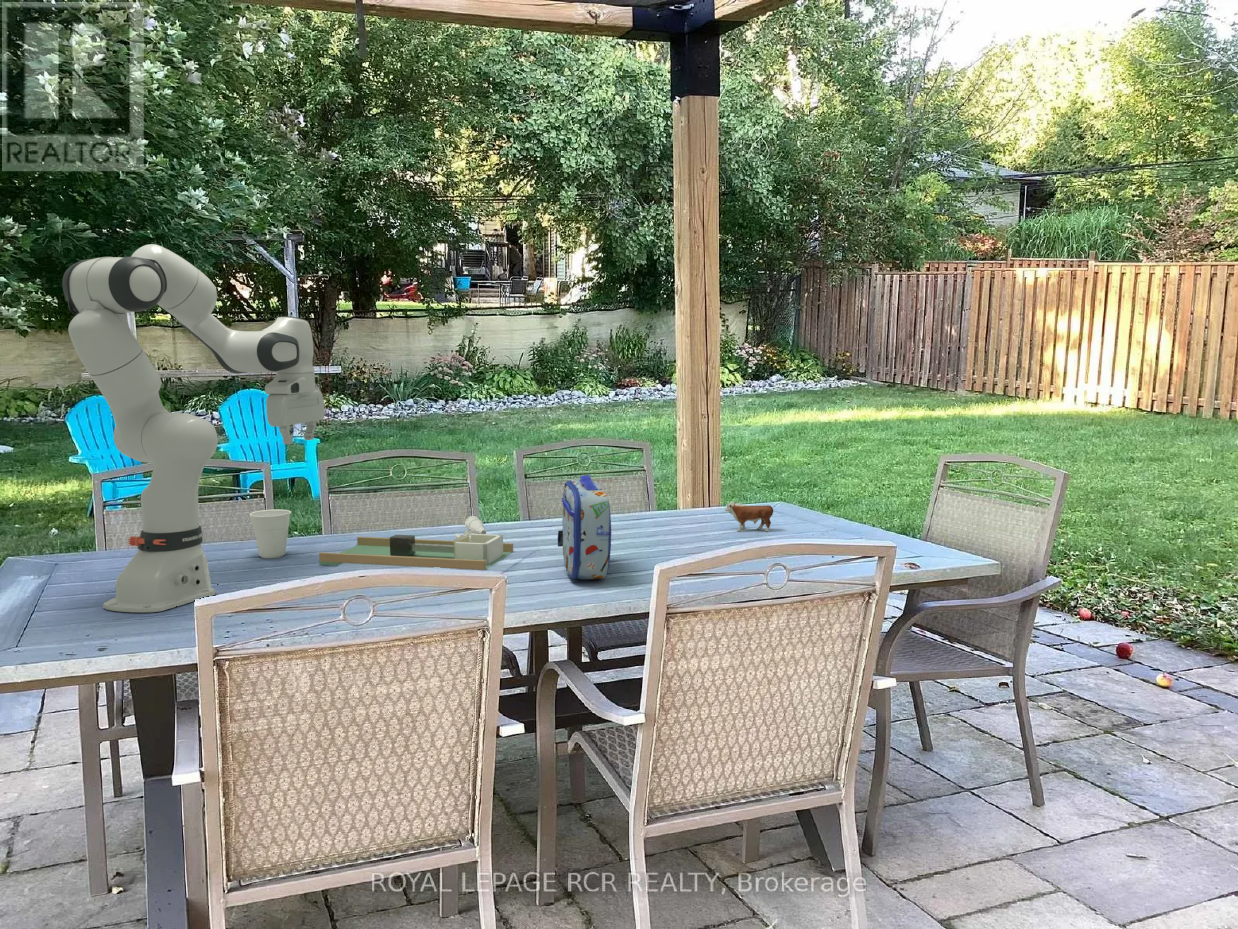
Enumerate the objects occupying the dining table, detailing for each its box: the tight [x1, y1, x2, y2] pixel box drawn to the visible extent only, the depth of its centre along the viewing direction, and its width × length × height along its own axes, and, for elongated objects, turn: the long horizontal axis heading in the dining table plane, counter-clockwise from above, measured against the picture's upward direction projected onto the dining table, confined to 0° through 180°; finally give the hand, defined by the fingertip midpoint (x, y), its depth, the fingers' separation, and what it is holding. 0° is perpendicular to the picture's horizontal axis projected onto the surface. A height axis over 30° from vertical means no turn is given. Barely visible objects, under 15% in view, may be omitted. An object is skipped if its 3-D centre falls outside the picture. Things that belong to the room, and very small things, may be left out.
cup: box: [248, 508, 292, 559], centre depth 251 cm, size 10×10×11 cm
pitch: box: [318, 536, 514, 571], centre depth 245 cm, size 20×42×3 cm, turn 77°
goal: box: [455, 533, 504, 565], centre depth 242 cm, size 11×8×5 cm
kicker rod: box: [389, 534, 469, 559], centre depth 245 cm, size 5×19×5 cm, turn 77°
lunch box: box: [557, 474, 612, 580], centre depth 231 cm, size 28×10×22 cm, turn 9°
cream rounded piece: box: [455, 515, 487, 542], centre depth 263 cm, size 8×14×5 cm
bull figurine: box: [724, 501, 774, 533], centre depth 279 cm, size 4×13×8 cm, turn 82°
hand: (298, 442), depth 243 cm, fingers open, 8 cm apart
